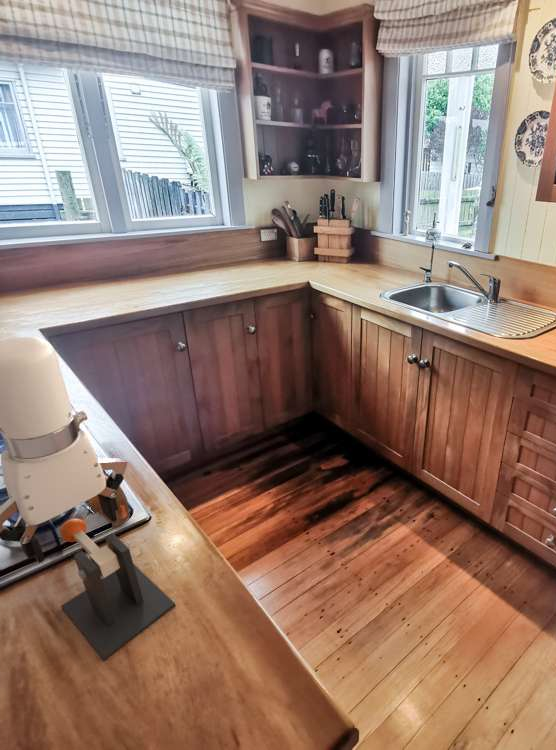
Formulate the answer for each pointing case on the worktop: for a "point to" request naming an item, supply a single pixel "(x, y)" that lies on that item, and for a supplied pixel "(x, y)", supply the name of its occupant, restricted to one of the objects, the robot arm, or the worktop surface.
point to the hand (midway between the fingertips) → (76, 535)
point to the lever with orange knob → (90, 546)
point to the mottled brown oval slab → (121, 503)
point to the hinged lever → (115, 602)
